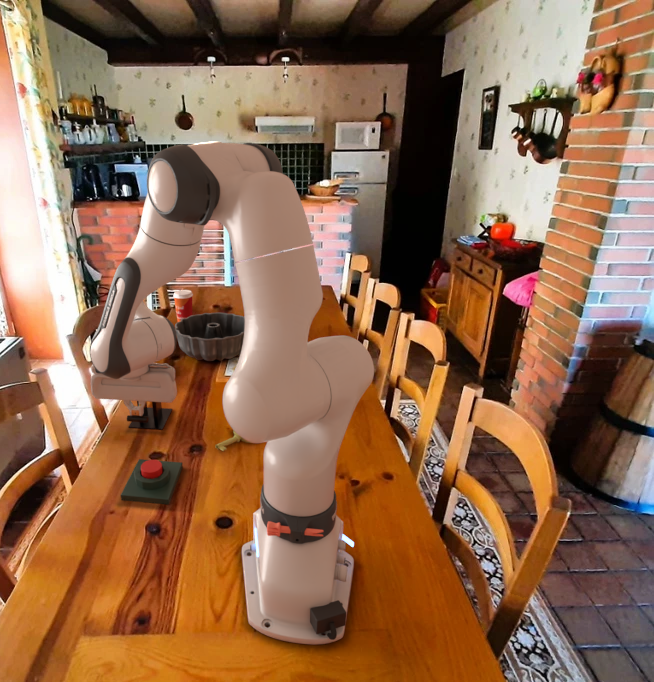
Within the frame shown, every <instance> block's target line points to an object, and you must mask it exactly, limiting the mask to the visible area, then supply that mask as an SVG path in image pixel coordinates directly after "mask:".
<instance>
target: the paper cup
mask: <svg viewBox="0 0 654 682" xmlns="http://www.w3.org/2000/svg"><path fill="white" fill-rule="evenodd" d="M193 296H194V293H193V291H192V290H190V289H180V290H175V291H174V293H173V296H172V297H173V298H174V305H175V306H174V307H175V312H176V314H175V315H176V320H177V323H178V322H180V321H181V319H185V318H187V317H189V316H192V315H193Z"/></svg>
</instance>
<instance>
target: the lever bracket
mask: <svg viewBox="0 0 654 682" xmlns="http://www.w3.org/2000/svg"><path fill="white" fill-rule="evenodd" d="M136 404H137V405H136V406H139V402H138V401H136ZM172 412H173V408H166V407H162V402H151V406H150V407H148V401H146V403H145V406H144V413H143V415H142V416H148V422H147V423H146V422H130V423H129V425H128V429H141V430H155V431H163V430H164V428H165V426H166V424H167V422H168V420H169V417H170V416H171V413H172Z"/></svg>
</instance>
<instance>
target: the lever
mask: <svg viewBox="0 0 654 682" xmlns="http://www.w3.org/2000/svg"><path fill="white" fill-rule="evenodd" d="M139 406H141V404H139ZM144 406H145V405H144ZM143 410H144V407H143ZM126 421H127V422H130V423H131V422H146V423H147V422H148V416H131V415H130V414H129V415H127V416H126Z"/></svg>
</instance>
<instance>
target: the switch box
mask: <svg viewBox="0 0 654 682" xmlns="http://www.w3.org/2000/svg"><path fill="white" fill-rule="evenodd" d="M148 460H149V459H141V458H139V459H138V460H137V463H136V464H135V466H134V468H133V470H132V471H131V474H130V476H129V477H128V480H127V482H126V484H125V485H124V487H123V490H122V491H121V493H120V499H121V500H120V501H124V502H134V503H145V504H154V505H155V504H156V505H166V506H169V505H170V503H171V500H172V498H173V495H174V492H175V489H176V487H177V485H178V481H179V478H180V476H181V473H182V471H183V467H184V466H183V462H182V461H181V462H180V461H168V460H167V461H166V460H159V461H160V462H161V464H162V471H163V472H162V474H161V475H160V476H159V477H157V478H153V479H147V478H144V477H143V476H142V473H141V465H142V464H143V463H144V462H145V461H148Z"/></svg>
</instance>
